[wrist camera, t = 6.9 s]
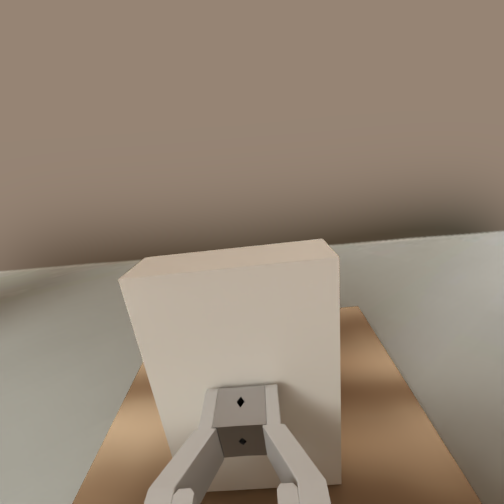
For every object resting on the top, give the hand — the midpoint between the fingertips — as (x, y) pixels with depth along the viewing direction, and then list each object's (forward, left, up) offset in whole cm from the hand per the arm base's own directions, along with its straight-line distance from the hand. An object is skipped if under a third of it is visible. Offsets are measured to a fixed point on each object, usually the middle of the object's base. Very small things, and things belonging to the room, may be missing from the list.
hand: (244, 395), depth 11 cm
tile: (-1, 0, -6) cm, 6 cm away
